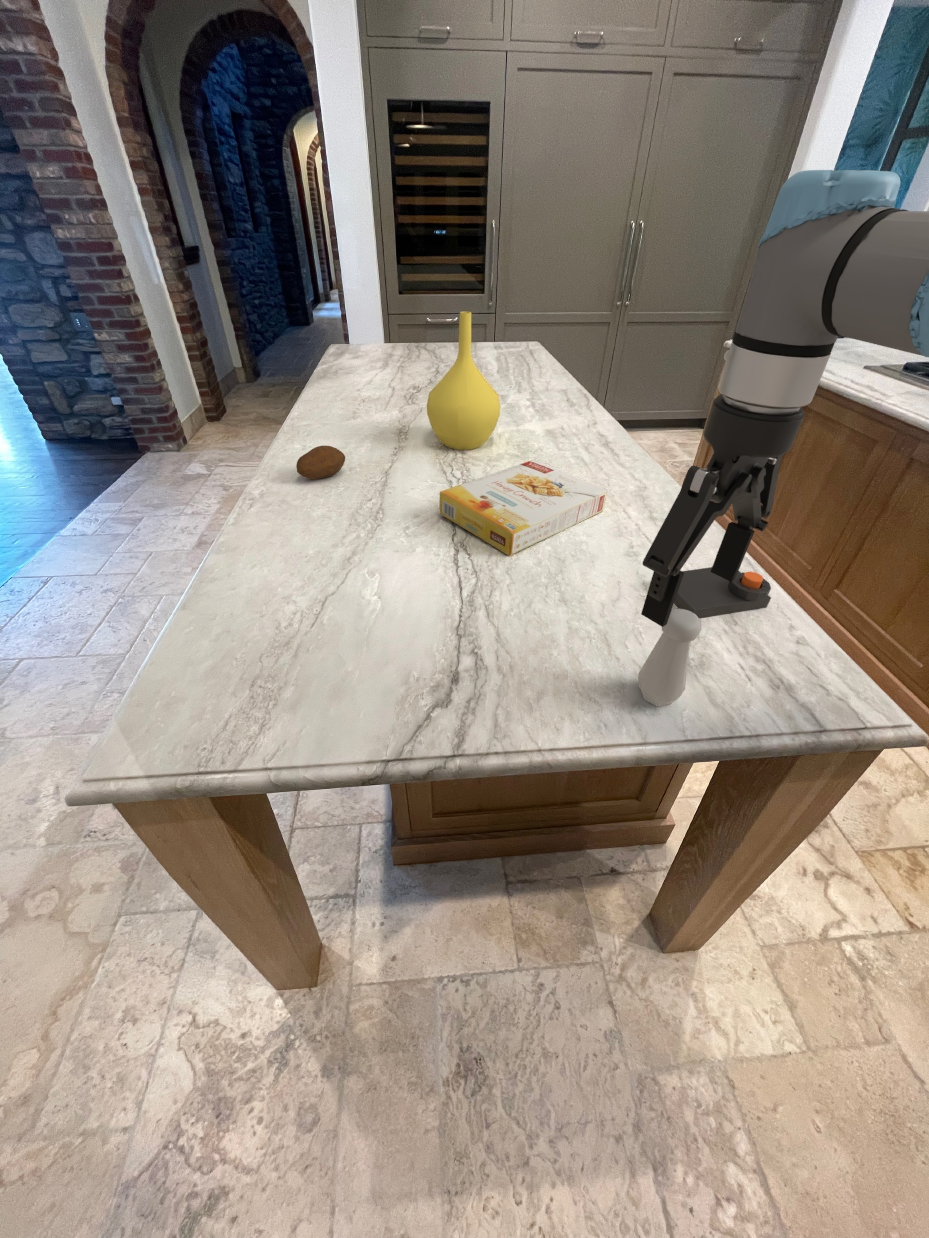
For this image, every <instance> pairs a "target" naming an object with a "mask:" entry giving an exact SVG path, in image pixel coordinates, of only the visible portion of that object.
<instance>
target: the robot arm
mask: <svg viewBox="0 0 929 1238" xmlns="http://www.w3.org/2000/svg"><path fill="white" fill-rule="evenodd" d="M900 187H901V177H900V176H899V174H897V173H896V172H895V171H889V170H875V169H874V170H871V169H844V170H839V169H838V170H837V169H836V170H833V169H809V170H808V169H807V170H801V171H798V172H796V173H794V174H792V175H790V177H789V178H787V179H786V181H785V182H784V183H783V184H782V186H781V188H780V190H779V192H778V194H777V197H776V200H775V203H774V205H773V207H772V211H771V213H770V216H769V219H768V221H767V224H766V227H765V229H764V232H763V235H762V237H761V238H760V240H759V241H758V242H759V243H758V246H757V248H758V250H757V254H756V257H755V261H754V265H753V269H752V271H751V276H750V280H749V284H748V287H747V290H746V294H745V298H744V301H743V304H742V308H741V311H740V315H739V318H738V321H737V325H736V328H735V329H734V333H733V336H732V339H731V343H730V347H729V349H727V350H726V351H725V352H724V355H723V360H724V361H725V362H724V367H723V369H722V373H721V375H720V379H719V382H718V385H717V390H718V392H719V393H720V394H719V395H718V396H716V398H714V399H713V401H712V403H711V405H710V409H709V413H708V417H707V419H706V422H705V426H704V430H703V438H704V440H705V441H706V443H707V444H709V445H710V446H711V448H712V450H713V453H712V455H711V458H709V459H710V460H709V462H708V463H707V465H706V467H705V468H703V467H699V466H697V465H695V464H694V465H691V466H690V467H689V468H688V469H687V471H686V473H685V477H684V480H683V482H682V485H681V488H680V490H679V492H678V495H677V496H676V499H675V500H674V502H673V504H672V505H671V507H670V509H669V511H668V512H667V515H666V517H665V519H664V521H663V522H662V524H661V526H660V528H659V530H658V531H657V534H656V536H655V537H654V539H653V541H652V542H651V545H650V547H649V549H648V551H647V552H646V555H645V557H643V561H642V566H644V567H645V568H647V569H649V570H651V571H653V573H652V576H651V579H650V583H649V586H648V589H647V593H646V596H645V600H644V603H643V605H642V606H643V607H642V610H641V613H640V614H641V615H642V616H643V617H644V618H646V619H648V620H650V621H651V622H653V623H655V624H657V625H658V626H660V627H661V628H662V627H663V626H665V625H666V624H667V622H668V619H669V616H670V613H671V610H673V607H674V604H675V603H674V601H675V599H676V596H677V593H678V590H679V587H680V584H681V581H682V578H683V575H684V572H682V571H683V570H682V568H683V567H684V566H685V564H686V563H687V561H688V560H689V558H690V557H691V556H692V554H693V553H694V551H695V549H696V548H697V547H698V545H699V544H700V542H701V541H702V539H703V538H704V536H705V535H706V533H707V532H708V530H709V529H710V527H711V526H712V524H713V523H714V521H715V520H716V519H717V518H718V517H723V516H725V514H726V513H727V512H728V510H729V509H730V507H731V506H732V511H733V519H734V521H730V522H729V523H728V524H727V527H726V529H725V532H724V535H723V537H722V540H721V542H720V545H719V548H718V551H717V553H716V555H715V558H714V561H713V564H712V566H711V567H712V569H711V572H712V573H714V574H716V575H718V576H720V577H722V578H724V579H726V580H728V581H730V582H732V581H734V580H735V578H736V576H737V573H738V571H740V568H741V565H742V564H743V561H744V559H745V557H746V554H747V551H748V549H749V547H750V544H751V541H752V539H753V537H754V534H755V533H756V531H755V530H757V531H759V532H764V531H765V530H766V529H767V527H768V525H769V521H767V520H766V519H768V518H769V517H770V516H771V514H772V512H773V511H772V510H773V505H774V501H775V495H776V491H777V490H776V489H777V484H778V478H779V473H780V467H781V463H782V460H783V458H784V455H786V454H787V453H789V451H791V449H792V447H793V445H794V443H795V440H796V439H797V435H798V433H799V431H800V428H801V426H802V423H803V421H804V419H805V416H806V413H805V410H804V408H803V407H807V406H808V405H810V404H811V403H812V401H813V400H814V397H815V395H816V391H817V390H818V387H819V384H820V382H821V379H822V377H823V374H824V372H825V370H826V367H827V365H828V362H829V360H830V357H831V355H832V351H833V348H834V347H835V343H836V342H837V340H838V338H839V337H840V338H847V339H852V340H856V341H859V342H860V341H861V342H864V343H868V344H872V345H877V346H881V347H885V348H889V349H894V350H898V351H901V352H904V353H908V354H909V353H910V354H913V355H917V356H920V357H921V356H922V357H924V358H929V210H908V209H900V208H898V207H895V206H896V204H897V201H896V200H897V197H898V194H899V190H900ZM764 519H765V520H764ZM735 521H736V522H737V523H736V522H735ZM754 529H755V530H754Z"/></svg>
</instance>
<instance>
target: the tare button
mask: <svg viewBox="0 0 929 1238" xmlns="http://www.w3.org/2000/svg"><path fill="white" fill-rule="evenodd" d="M743 573H744V575H743V578H742V580H741V584H743V585H744V586H746V587H748V588H753V589H758V588H760V586H761V583H762V581H763V578H764V577H763V575H761V574H760V573H758V572H755V571H745V572H743Z"/></svg>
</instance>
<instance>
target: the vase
mask: <svg viewBox="0 0 929 1238" xmlns="http://www.w3.org/2000/svg"><path fill="white" fill-rule="evenodd" d="M458 324H459V325H458V353H457V356H456V359H455V361H454V363H453V365H452V366H451V367H450V368H449V370H448V371H447V372H446V373H445V374H444V375H443V377H442V379H440V380H439V381H438V382H437V384H436V385H435V386H434V387H432V388H431V390H430V391H429V392H428V397H427V402H426V415H427V418H428V421H429V423H430V426H431V427H430V428H431V429H432V431H433V432H434V434H435V436H436V438H437V439H438V441H440V442H441V443H442V444H443V445H444V446H445V447H447V448H449V449H453V450H459V451H467V450H475V449H477V448H479V447H481V446H483V445H484V444H485V443H486V442H487V441H488V440H489V438H490V437H491V436H492V434H493V432H494V431H495V429H496V426H497V423H498V421H499V419H500V416H501V415H500V414H501V402H500V394H499V393H498V392H497V391H496V390H495V388H493V386H492V385H491V384H490V382H488V380H487V379H486V378H485V376H484V374H482V372H481V370H480V369H479V368H478V367H477V366H476V364H475V361H474V359H473V355H472V312H471V311H465V310H463V311H460V312H459V322H458Z"/></svg>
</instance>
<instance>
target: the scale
mask: <svg viewBox="0 0 929 1238" xmlns="http://www.w3.org/2000/svg"><path fill="white" fill-rule="evenodd" d="M711 569H712V566H709V567H704V568H696V569H689V570H681V571H682V572H684V575H683V578H682V581H681V584H680V587H679V590H678V593H677V596H676V599H675V601H674V604H675V606H677V607H678V609H685V610H688V611H691V612H692V613H694V614H696V615H697V617H698V618H699V619H704V618H710V617H716V616H721V615H727V614H734V613H739V612H747V611H753V610H758V609H765V608H768V606H769V604H770V601H771V599H772V597H771V596H770V592H771V589H772V587H771V583H770V582H769V581H768V580H767V579H765V578H764V577H763V581H762V583H761V586H760V588H758V589H753V588H748V587H746V586H744V585H743V584H741V580H742V578H743V575H744V573H745V572H741V571H740V570H739V571H738V573H737V576H736V578H735V580H734V581H732V582H730V581H728V580H726V579H724V578H722V577H720V576H718V575H716V574H714V573H712V572H711Z"/></svg>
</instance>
